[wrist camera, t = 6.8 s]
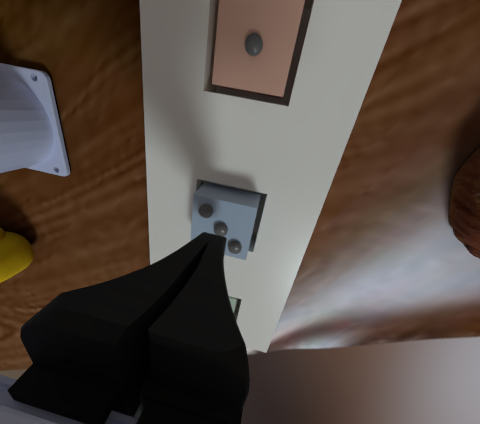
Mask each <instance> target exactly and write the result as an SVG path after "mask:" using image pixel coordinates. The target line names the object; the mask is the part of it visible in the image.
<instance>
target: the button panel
mask: <svg viewBox="0 0 480 424" xmlns="http://www.w3.org/2000/svg"><path fill="white" fill-rule="evenodd" d="M401 1H402V0H305V3H304V7H303V12H302V16H301V21H300V25H299V29H298V34H297V38H296V42H295V47H294V51H293V56H292V60H291V64H290V69H289V73H288V78H287V82H286V86H285V91H284V95H283V99H281V98H276V97H270V96H265V95H259V94H254V93H248V92H243V91H237V90H232V89H226V88H222V87H219V86H216V85H213V84H212V76H213V65H214V53H215V42H216V31H217V20H218V8H219V0H140V24H141V48H142V73H143V98H144V122H145V147H146V171H147V196H148V221H149V245H150V265H151V264H153V263H155V262H157V261H159V260H161V259H163V258H165V257H166V256H168V255H170V254H171V253H173V252H175V251H176V250H178V249H179V248H181V247H182V246H184V245H186V244H187V243H188V242H190V239H191V224H192V210H193V195H194V193H195V192H196V191H197V190H198V189H199V188H200V187H201V186H202V185H203V184H204V183H205V182H208V183H212V184H217V185H221V186H226V187H231V188H235V189H240V190H244V191H249V192H253V193H258V194H261V196H260V201H259V205H258V210H257V214H256V218H255V223H254V227H253V232H252V236H251V240H250V245H249V249H248V254H247V258H246V260H243V259H239V258H235V257H230V256H226V255H224V273H225V281H226V286H227V291H228V296H231V297H235V298H237V302H236V306H235V310H234V316H235V319H236V322H237V325H238V327H239V330H240V332H241V335H242V337H243V339H244V342H245V345H246V347H248V348H251V349H255V350H258V351H262V352H267V350H268V347H269V344H270V342H271V339H272V336H273V334H274V331H275V329H276V326H277V323H278V321H279V318H280V316H281V313H282V310H283V308H284V305H285V303H286V300H287V297H288V295H289V292H290V290H291V287H292V284H293V282H294V279H295V277H296V274H297V271H298V269H299V266H300V264H301V261H302V258H303V256H304V253H305V251H306V248H307V245H308V243H309V240H310V238H311V235H312V232H313V230H314V227H315V225H316V222H317V219H318V217H319V214H320V212H321V209H322V206H323V204H324V201H325V199H326V196H327V193H328V191H329V188H330V186H331V183H332V180H333V178H334V175H335V173H336V170H337V167H338V165H339V162H340V160H341V157H342V154H343V152H344V149H345V147H346V144H347V141H348V139H349V136H350V134H351V131H352V128H353V126H354V123H355V120H356V118H357V115H358V113H359V110H360V107H361V105H362V102H363V100H364V97H365V94H366V92H367V89H368V87H369V84H370V81H371V79H372V76H373V74H374V71H375V68H376V66H377V63H378V61H379V58H380V55H381V53H382V50H383V48H384V45H385V42H386V40H387V37H388V35H389V32H390V29H391V27H392V24H393V22H394V19H395V16H396V14H397V11H398V9H399V6H400V3H401Z"/></svg>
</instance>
